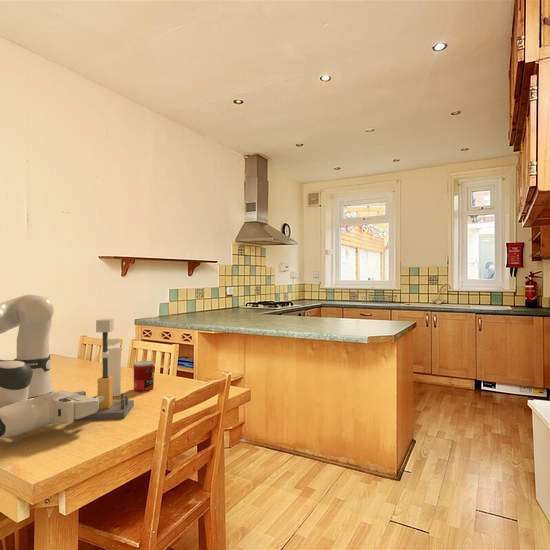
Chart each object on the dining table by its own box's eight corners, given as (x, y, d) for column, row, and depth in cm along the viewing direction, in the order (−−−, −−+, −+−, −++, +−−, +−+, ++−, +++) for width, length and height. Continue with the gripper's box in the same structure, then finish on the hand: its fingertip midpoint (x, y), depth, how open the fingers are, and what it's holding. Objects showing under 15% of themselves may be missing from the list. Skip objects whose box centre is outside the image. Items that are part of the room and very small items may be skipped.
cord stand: (73, 420, 126) (73, 322, 126) (87, 407, 138) (87, 317, 138) (124, 418, 128) (124, 321, 128) (133, 405, 140) (133, 317, 140)
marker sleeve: (97, 408, 131) (97, 379, 131) (101, 404, 135) (101, 376, 135) (109, 408, 131) (109, 378, 131) (112, 404, 135) (112, 375, 135)
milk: (120, 395, 151) (120, 339, 151) (103, 398, 148) (104, 340, 148) (118, 391, 157) (118, 337, 156) (102, 393, 154) (102, 338, 153)
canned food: (147, 392, 155) (147, 365, 155) (129, 391, 157) (129, 364, 157) (157, 387, 163) (157, 361, 162) (140, 386, 164) (140, 360, 164)
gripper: (32, 412, 122) (74, 399, 134) (72, 425, 112) (113, 410, 124) (32, 392, 122) (74, 381, 134) (72, 403, 112) (113, 390, 124)
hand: (93, 395), depth 129 cm, fingers open, 8 cm apart
